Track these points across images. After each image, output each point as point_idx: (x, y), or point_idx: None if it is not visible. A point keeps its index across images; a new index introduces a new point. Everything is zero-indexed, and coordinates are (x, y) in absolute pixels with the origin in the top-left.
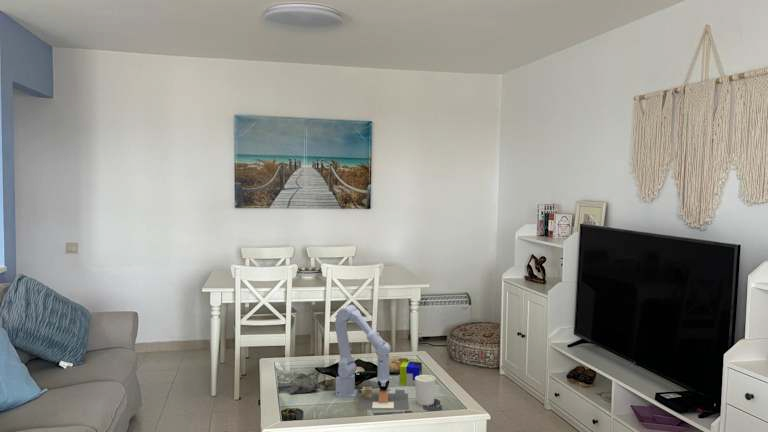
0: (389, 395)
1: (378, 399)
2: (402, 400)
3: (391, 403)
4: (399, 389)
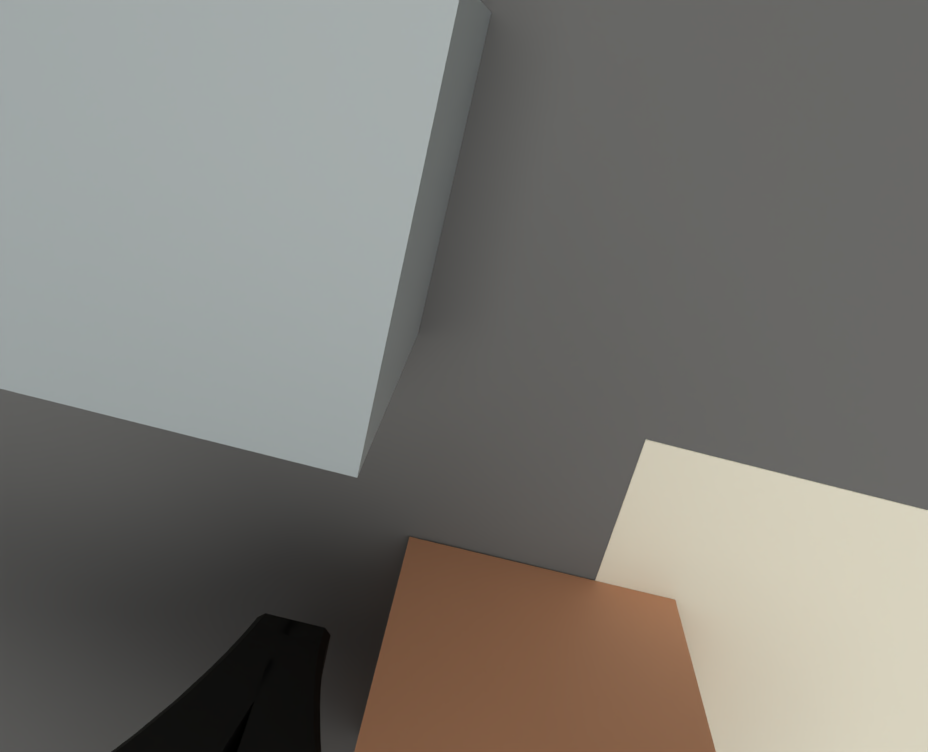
0: (68, 419)
1: (353, 743)
2: (595, 128)
3: (750, 529)
4: (308, 259)
